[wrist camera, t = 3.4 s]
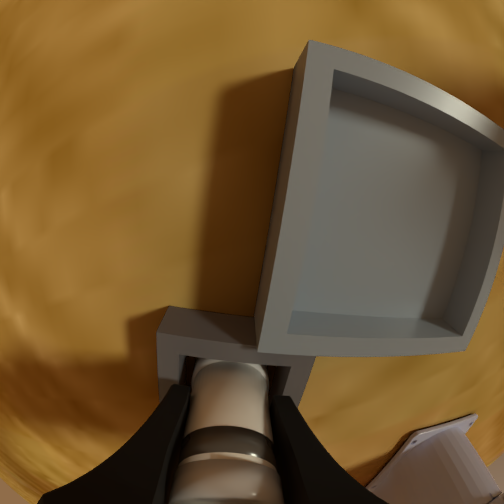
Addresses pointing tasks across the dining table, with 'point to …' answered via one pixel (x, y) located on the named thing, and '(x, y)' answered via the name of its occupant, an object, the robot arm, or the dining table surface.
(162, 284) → the dining table surface
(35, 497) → the dining table surface
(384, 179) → the parts tray
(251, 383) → the cylinder
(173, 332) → the fuse socket
